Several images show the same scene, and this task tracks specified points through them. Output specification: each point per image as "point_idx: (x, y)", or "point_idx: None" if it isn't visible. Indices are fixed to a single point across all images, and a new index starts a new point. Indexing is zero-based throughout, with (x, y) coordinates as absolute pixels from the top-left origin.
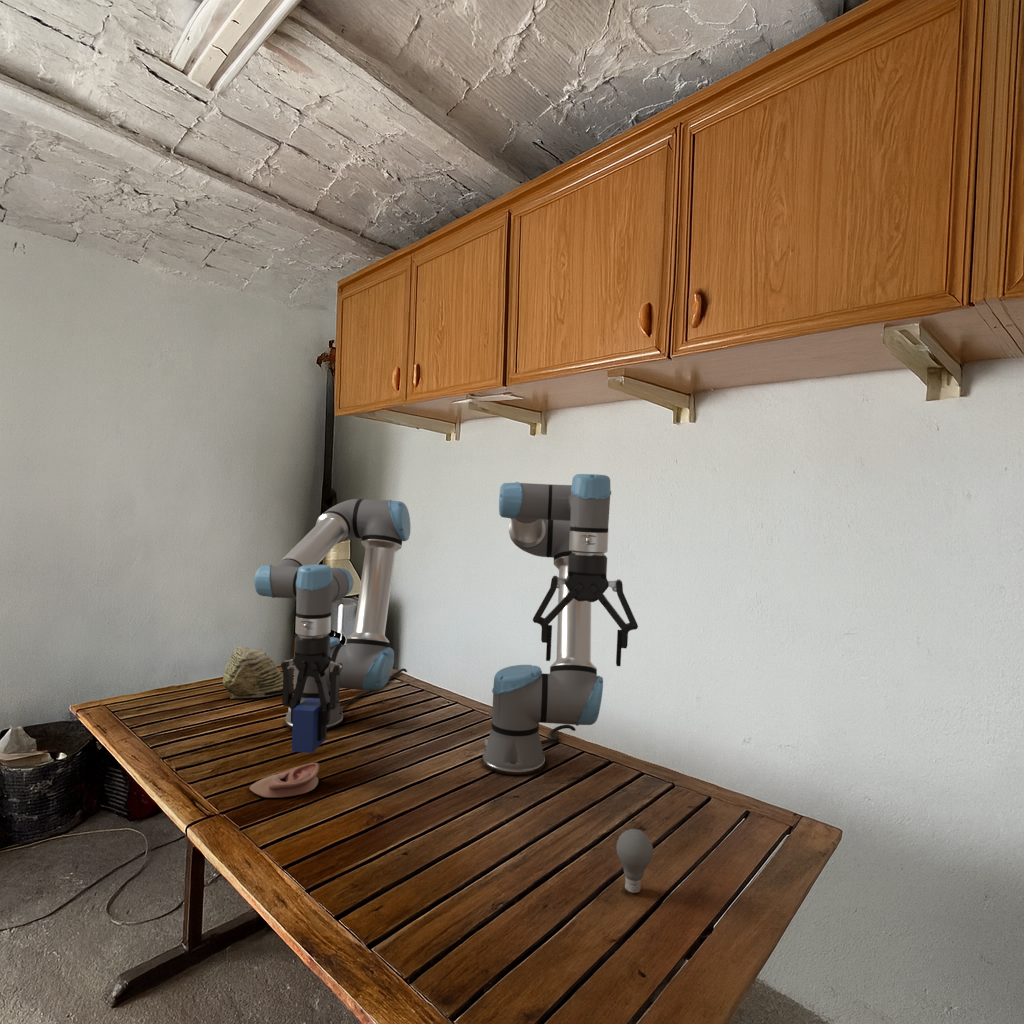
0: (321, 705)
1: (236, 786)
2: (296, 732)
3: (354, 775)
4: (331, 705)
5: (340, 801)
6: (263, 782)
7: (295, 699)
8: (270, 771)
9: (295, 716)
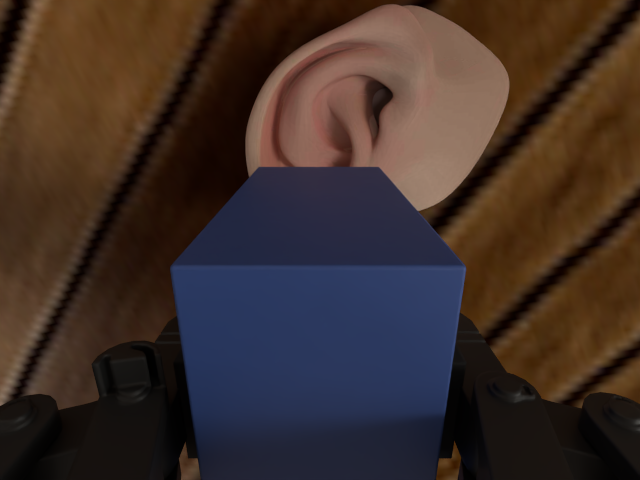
0: (152, 424)
1: (565, 97)
2: (368, 193)
3: (170, 263)
4: (16, 432)
5: (112, 46)
6: (459, 77)
7: (519, 471)
8: (476, 240)
9: (407, 235)
